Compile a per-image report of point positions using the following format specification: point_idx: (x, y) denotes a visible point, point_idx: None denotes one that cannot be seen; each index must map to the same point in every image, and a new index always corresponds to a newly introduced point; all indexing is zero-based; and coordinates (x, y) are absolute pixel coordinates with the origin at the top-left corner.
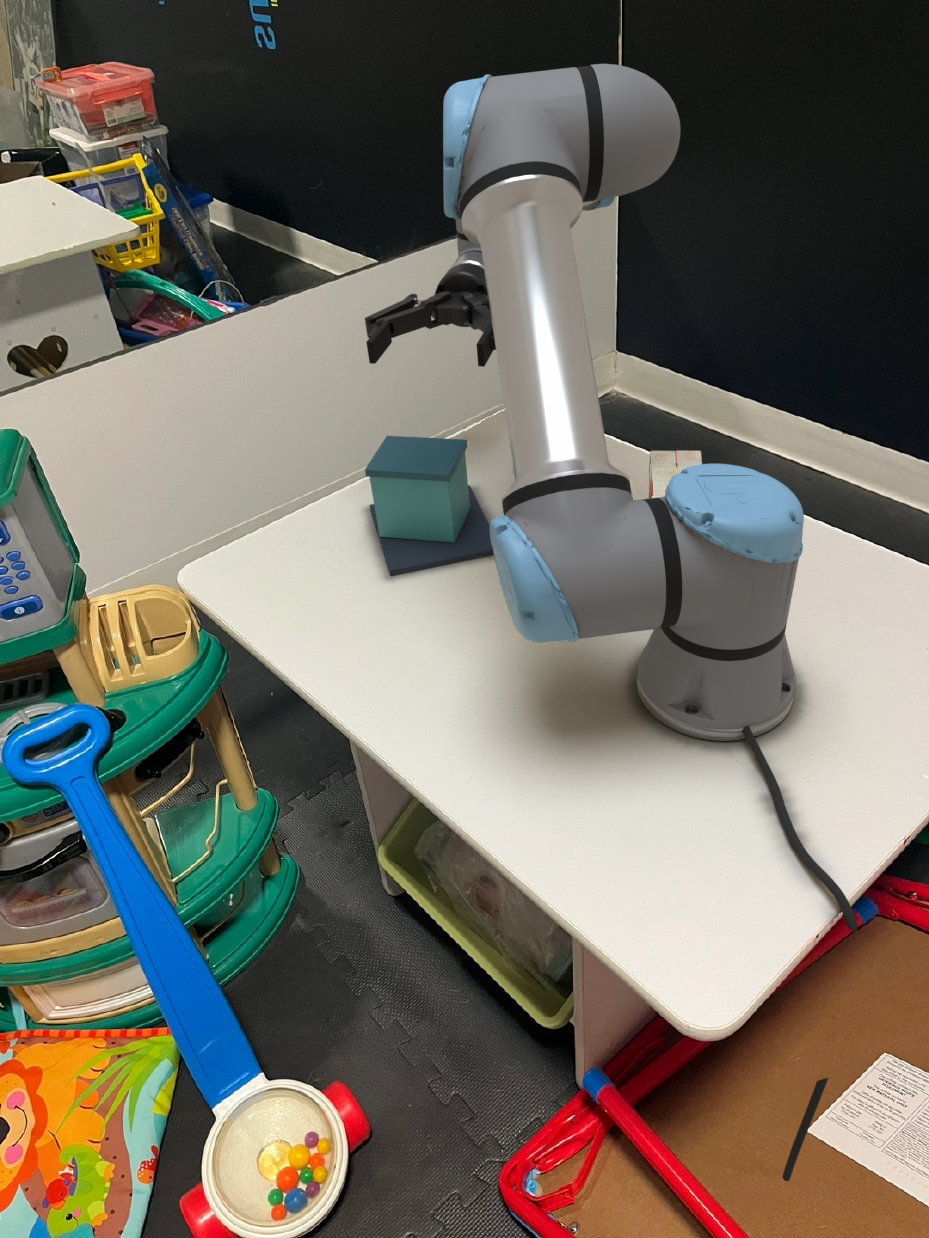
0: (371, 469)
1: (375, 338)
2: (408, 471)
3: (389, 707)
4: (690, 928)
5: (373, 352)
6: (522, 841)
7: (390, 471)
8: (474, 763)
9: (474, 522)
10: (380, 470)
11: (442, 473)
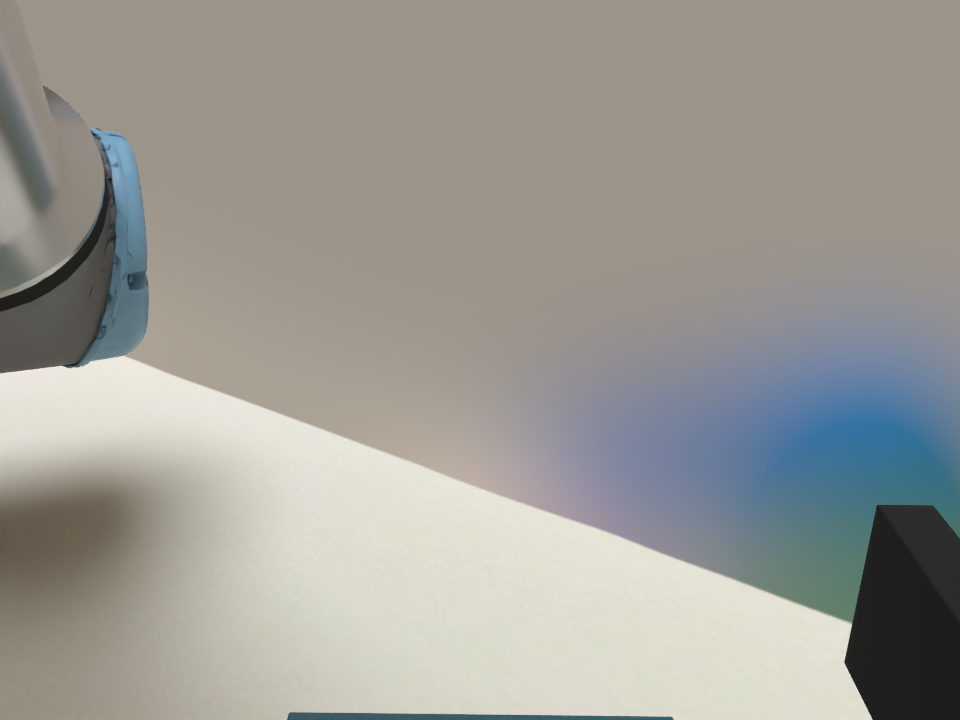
0: (642, 717)
1: (912, 558)
2: (471, 717)
3: (394, 503)
4: None
5: (862, 581)
6: (188, 401)
7: (553, 716)
8: (246, 454)
9: None
10: (599, 716)
11: (318, 716)
